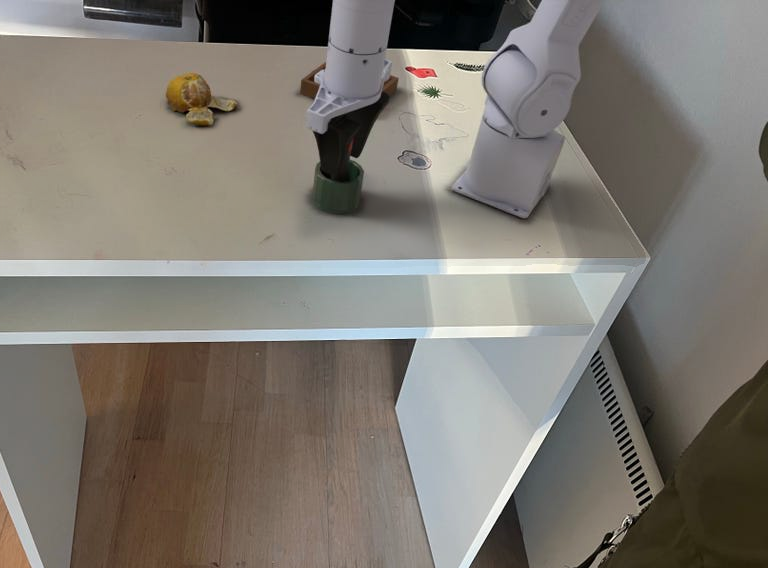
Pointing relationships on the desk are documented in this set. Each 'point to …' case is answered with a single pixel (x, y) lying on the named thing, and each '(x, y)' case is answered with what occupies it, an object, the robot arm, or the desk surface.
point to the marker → (343, 175)
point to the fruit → (195, 98)
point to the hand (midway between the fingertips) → (340, 163)
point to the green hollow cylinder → (338, 190)
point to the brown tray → (312, 88)
